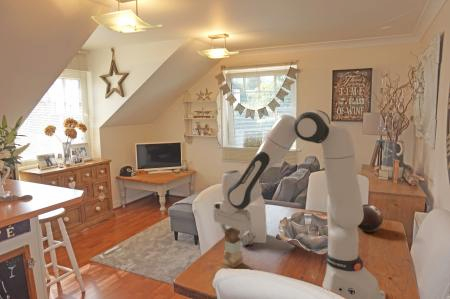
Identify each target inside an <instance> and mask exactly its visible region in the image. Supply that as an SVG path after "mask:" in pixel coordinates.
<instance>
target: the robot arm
mask: <svg viewBox="0 0 450 299" xmlns="http://www.w3.org/2000/svg"><path fill="white" fill-rule="evenodd" d="M297 139H301V140H302V141H306V142H309V143H314V144H321V147H322V154H323V164H324V173H325V182H326V186H327V198H326V215H327V216H326V218H327V220H326V221H327V251H326V255H325V256H326V257H325V262H326V263H325V264H326V269H325V270H326V271H325V275H324V279H323V282H322V288H323V289H324V288H325V289H328V290H330V291H332V292H334V293H336V294H338V295H341V296H342V297H345V298H346V299H386V293H385V291H384V290H382V289H381V288H380V286H379V281H378V279H377V278H376V277H375V276H374V275H373V274H372V273H371V272H370V271H369V270H367V269H366V268H365V267H364V262H365V258H361V257H360V255H359V239H360V237H359V230H358V227H357V226H358V225H359V224H360V223H361V222H362V220H363V217H364V212H363V206H362V205H363V201H362V194H361V188H360V184H359V179H358V174H357V164H356V163H357V161H356V151H355V145H354V141H353V137H352V134H351V131H350V130H349V128H348V127H345V126H343V125H332V124H331V120H330V117H329V115H328V114H327V113H326V112H324V111H322V110H318V109H317V110H316V109H315V110H313V109H312V110H307V111H305V112H303V113H301V114H300V115H298V117H294V116H292V115H289V114H283V115H280V116H279V117H278V118H277V119H276V120H275V121H274V123H273V124H272V125H271V127H270V129H269V130H268V131H267V133H266V135H265V136H264V138H263V140H262V142H261V144H260V146H259V148H258V150H257V151H256V153H255V155H254V157H253V159H252V160H251V162H250V163H249V165H248V166H247V168H246V169H245V171H244V172H243V173H242V172H241V171H240V170H237V169H236V170H235V169H234V170H229V171H226V172H224V173H223V174H222V176H221V177H222V178H221V192H222V197H221V200H220V201H217V202H214V203H213V208H214V209H213V220H214V222H215V223H218V224H220V225H219V226H220V228H221V230H222V233H223V234H225V230H227V229H228V228H226V227H227V226H228V227H229V228H231V227H233V228H236V229H239V230H240V234H238V238H240V239H242V238H243V234H244V232H245V231H249V230H251V228H252V222H251V214H250V213H249V211H248V210H245V209H244V208H246V207H247V206H248V205H249V204H250V203H252V202H254V201H255V200H257V199H258V198H259V197H260V196H261V194H262V195H263V186H262V185H261V183H260V181H259V180H260V178H261V177H262V175H264V173H265V172H266V171H267V170H269V169H270V168H272V167H274V166H275V165H277V164H278V163H279V162H281V161H282V160H283V159H284V158H285V157H286V155H287V154H288V153H289V152H290V150H291V149H292V146H293V145H294V144H295V143H296V141H297Z"/></svg>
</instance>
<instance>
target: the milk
mask: <svg viewBox="0 0 450 299" xmlns="http://www.w3.org/2000/svg"><path fill="white" fill-rule="evenodd" d="M244 209H245V210H248V211H249V213H250V214H251V222H252V228H251V230H250V232H251V233H252V234H253V235H254V236H256V237H254V239H253V242H252V243H256V244H257V243H258V244H261V243H262V244H266V243H267V237H268V236H267V235H268V233H267V232H268V231H267V213H266V201H265V199H264V197H263V193H262V194H261V196H260V197H259V198H258V199H257V200H255V201H254V202H252V203H250V204H249V205H248V206H247V207H246V208H244Z"/></svg>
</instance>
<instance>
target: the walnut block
mask: <svg viewBox="0 0 450 299" xmlns="http://www.w3.org/2000/svg"><path fill="white" fill-rule="evenodd" d="M226 229H227V230H225V233H224V242H225V241H227V242H229V243H232V244H234V243H236V242H238V241H240V238H238V234H240V229H236V228H233V227H229V228H226Z"/></svg>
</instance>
